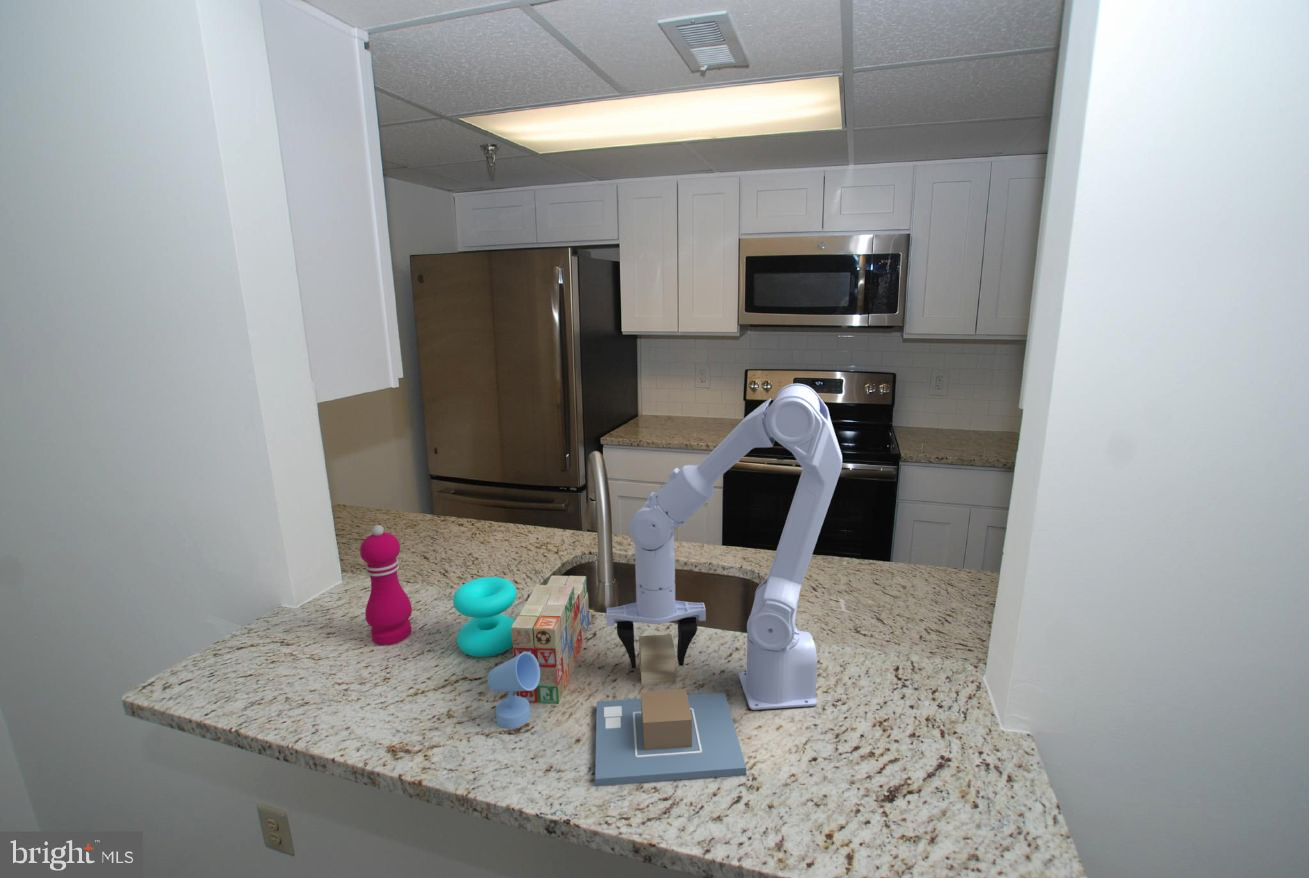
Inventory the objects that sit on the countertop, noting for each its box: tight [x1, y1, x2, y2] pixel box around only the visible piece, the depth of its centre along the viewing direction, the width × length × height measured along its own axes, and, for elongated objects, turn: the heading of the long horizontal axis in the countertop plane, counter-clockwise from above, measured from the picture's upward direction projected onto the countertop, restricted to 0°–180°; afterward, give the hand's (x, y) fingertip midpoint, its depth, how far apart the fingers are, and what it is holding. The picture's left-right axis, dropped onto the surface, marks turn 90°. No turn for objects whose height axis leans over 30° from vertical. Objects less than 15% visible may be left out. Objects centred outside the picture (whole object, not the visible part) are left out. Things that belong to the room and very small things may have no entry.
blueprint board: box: [594, 688, 747, 787], centre depth 80 cm, size 18×14×5 cm
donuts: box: [452, 576, 518, 658], centre depth 102 cm, size 10×10×10 cm
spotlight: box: [487, 652, 540, 729], centre depth 84 cm, size 5×10×7 cm
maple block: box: [638, 633, 676, 685], centre depth 94 cm, size 5×5×5 cm
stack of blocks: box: [511, 575, 590, 705], centre depth 97 cm, size 21×6×12 cm, turn 174°
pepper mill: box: [359, 524, 413, 646], centre depth 103 cm, size 7×7×20 cm
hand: (657, 663), depth 94 cm, fingers open, 6 cm apart
